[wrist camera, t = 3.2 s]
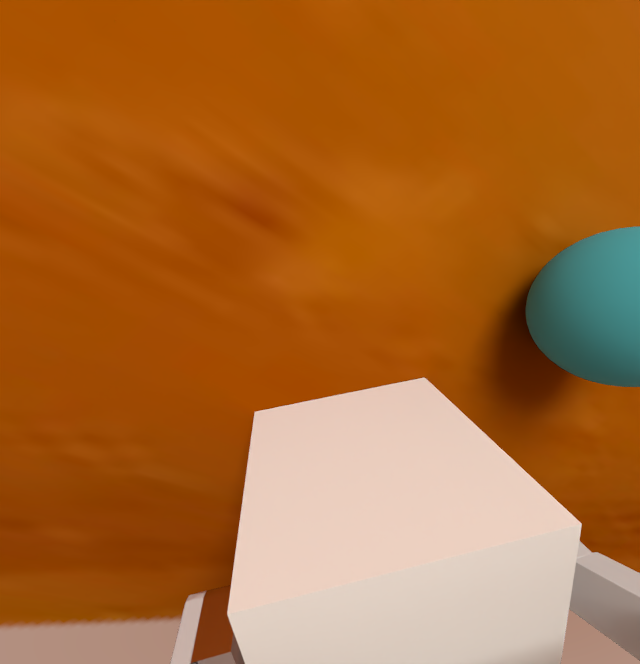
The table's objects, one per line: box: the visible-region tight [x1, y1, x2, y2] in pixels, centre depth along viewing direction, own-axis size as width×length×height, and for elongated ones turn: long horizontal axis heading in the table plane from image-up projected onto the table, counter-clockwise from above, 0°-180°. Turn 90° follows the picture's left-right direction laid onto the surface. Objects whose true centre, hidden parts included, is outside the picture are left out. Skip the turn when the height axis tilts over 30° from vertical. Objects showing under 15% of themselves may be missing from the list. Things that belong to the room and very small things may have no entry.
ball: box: [526, 226, 640, 387], centre depth 10 cm, size 5×5×5 cm
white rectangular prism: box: [227, 377, 582, 664], centre depth 10 cm, size 7×7×7 cm
